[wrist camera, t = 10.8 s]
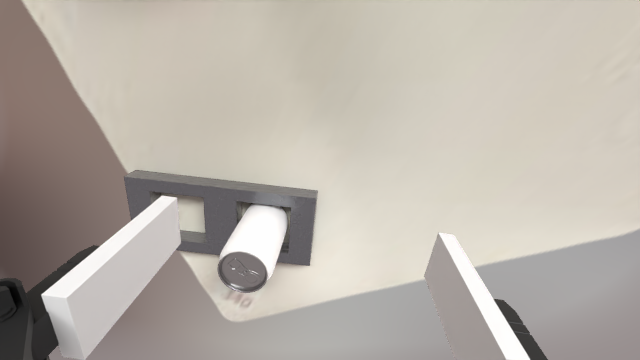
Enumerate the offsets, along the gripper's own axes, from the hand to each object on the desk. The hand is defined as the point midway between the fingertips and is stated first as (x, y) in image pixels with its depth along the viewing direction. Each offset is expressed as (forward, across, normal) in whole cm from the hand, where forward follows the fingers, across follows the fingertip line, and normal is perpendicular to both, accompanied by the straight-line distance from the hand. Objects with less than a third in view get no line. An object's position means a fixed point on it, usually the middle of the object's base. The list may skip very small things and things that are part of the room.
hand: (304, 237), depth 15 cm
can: (+25, -7, -15) cm, 30 cm away
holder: (+25, -13, -15) cm, 32 cm away
